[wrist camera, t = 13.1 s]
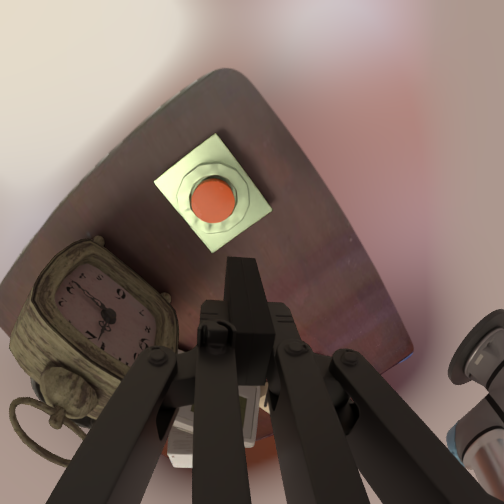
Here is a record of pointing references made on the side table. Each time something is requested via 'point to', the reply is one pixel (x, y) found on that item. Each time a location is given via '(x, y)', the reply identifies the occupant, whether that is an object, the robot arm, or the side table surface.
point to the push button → (213, 200)
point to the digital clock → (248, 413)
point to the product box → (180, 448)
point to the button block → (205, 167)
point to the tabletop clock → (85, 334)
